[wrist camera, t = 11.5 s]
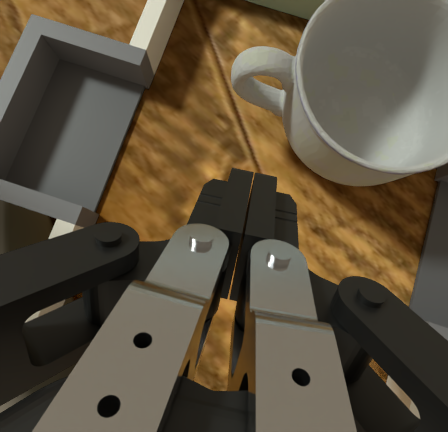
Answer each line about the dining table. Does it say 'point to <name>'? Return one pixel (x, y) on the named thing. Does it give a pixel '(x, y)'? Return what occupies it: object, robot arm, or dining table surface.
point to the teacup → (360, 89)
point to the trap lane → (118, 127)
